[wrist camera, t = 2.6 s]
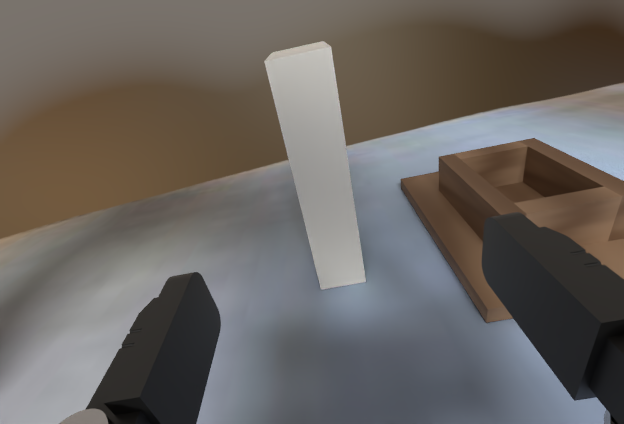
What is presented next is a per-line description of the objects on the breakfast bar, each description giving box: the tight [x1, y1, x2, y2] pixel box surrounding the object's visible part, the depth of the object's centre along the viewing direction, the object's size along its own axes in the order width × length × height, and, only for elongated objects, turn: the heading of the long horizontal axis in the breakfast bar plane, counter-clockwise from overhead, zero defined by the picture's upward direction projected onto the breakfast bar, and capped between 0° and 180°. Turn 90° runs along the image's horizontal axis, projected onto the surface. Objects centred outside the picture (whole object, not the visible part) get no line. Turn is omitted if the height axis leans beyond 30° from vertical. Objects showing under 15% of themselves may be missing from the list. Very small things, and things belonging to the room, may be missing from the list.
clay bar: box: [265, 42, 366, 290], centre depth 20 cm, size 3×5×14 cm, turn 3°
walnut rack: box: [401, 138, 624, 323], centre depth 22 cm, size 12×16×4 cm
